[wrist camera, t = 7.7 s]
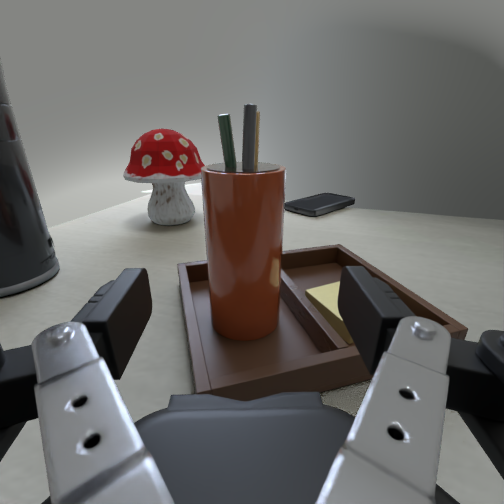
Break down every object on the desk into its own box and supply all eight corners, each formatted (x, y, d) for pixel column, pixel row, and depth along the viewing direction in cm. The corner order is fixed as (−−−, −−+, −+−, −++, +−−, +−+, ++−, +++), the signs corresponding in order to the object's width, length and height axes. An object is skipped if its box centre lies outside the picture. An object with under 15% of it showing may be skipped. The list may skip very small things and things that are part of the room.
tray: (199, 424, 17) (196, 393, 16) (179, 284, 31) (177, 263, 30) (458, 355, 22) (468, 328, 21) (337, 262, 36) (340, 244, 35)
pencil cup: (217, 347, 22) (203, 101, 15) (206, 305, 27) (191, 106, 20) (289, 333, 23) (304, 103, 17) (266, 295, 28) (270, 107, 22)
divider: (334, 371, 20) (338, 348, 19) (263, 272, 33) (263, 256, 32) (345, 369, 20) (349, 346, 19) (270, 271, 33) (270, 255, 32)
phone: (357, 198, 62) (314, 211, 53) (356, 203, 63) (313, 217, 54) (325, 192, 68) (281, 202, 58) (325, 197, 68) (281, 208, 59)
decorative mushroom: (226, 223, 51) (223, 128, 45) (145, 239, 43) (127, 129, 37) (192, 206, 61) (185, 127, 55) (121, 217, 54) (105, 128, 48)
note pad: (348, 344, 22) (351, 328, 22) (304, 303, 27) (305, 289, 27) (405, 323, 24) (409, 308, 24) (354, 289, 29) (356, 276, 29)
